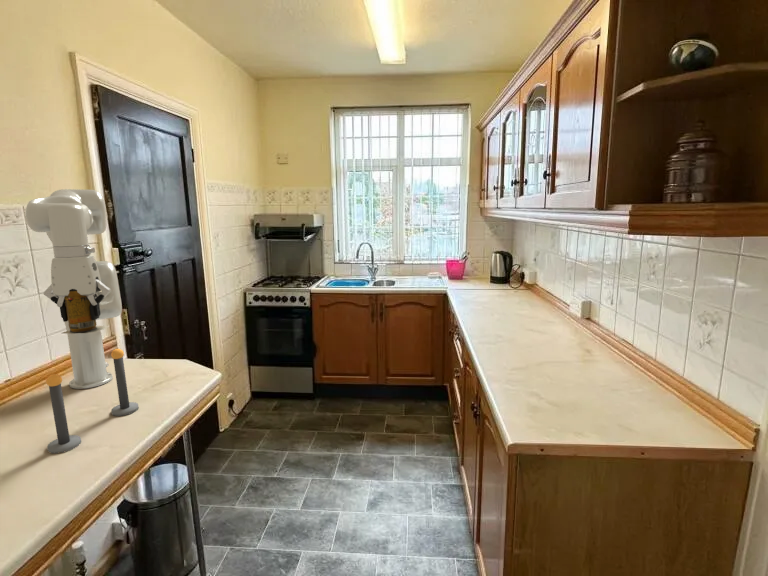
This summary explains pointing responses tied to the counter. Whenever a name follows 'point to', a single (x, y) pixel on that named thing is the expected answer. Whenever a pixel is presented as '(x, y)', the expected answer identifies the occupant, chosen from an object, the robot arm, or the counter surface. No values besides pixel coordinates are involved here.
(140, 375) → the counter surface
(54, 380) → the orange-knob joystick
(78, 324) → the condiment
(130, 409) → the stand
